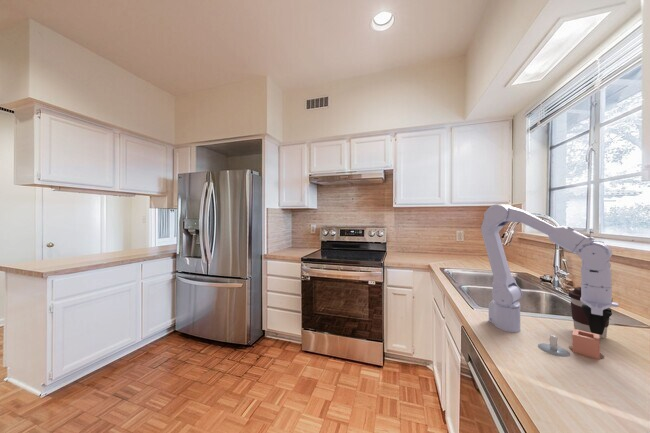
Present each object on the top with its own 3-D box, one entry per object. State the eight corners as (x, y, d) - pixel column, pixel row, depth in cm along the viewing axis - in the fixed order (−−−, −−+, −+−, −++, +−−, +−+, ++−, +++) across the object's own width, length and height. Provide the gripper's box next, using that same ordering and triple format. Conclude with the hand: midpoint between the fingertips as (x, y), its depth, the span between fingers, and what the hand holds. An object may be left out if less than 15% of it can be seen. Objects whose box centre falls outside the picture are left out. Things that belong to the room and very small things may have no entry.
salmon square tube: (572, 351, 70) (572, 334, 70) (573, 344, 74) (573, 328, 74) (599, 359, 66) (599, 341, 66) (599, 351, 70) (599, 334, 70)
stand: (531, 346, 75) (531, 330, 75) (554, 345, 75) (553, 330, 75) (553, 359, 68) (553, 342, 68) (577, 359, 68) (577, 342, 68)
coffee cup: (598, 344, 75) (597, 295, 75) (561, 329, 85) (560, 286, 85) (621, 340, 78) (620, 293, 77) (582, 326, 87) (582, 284, 87)
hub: (562, 348, 74) (561, 332, 74) (584, 347, 74) (584, 331, 74) (587, 362, 67) (587, 344, 67) (612, 361, 67) (612, 344, 67)
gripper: (620, 294, 61) (621, 348, 61) (615, 282, 71) (616, 329, 71) (579, 288, 66) (580, 338, 66) (580, 278, 76) (581, 321, 76)
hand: (596, 333), depth 69 cm, fingers closed
